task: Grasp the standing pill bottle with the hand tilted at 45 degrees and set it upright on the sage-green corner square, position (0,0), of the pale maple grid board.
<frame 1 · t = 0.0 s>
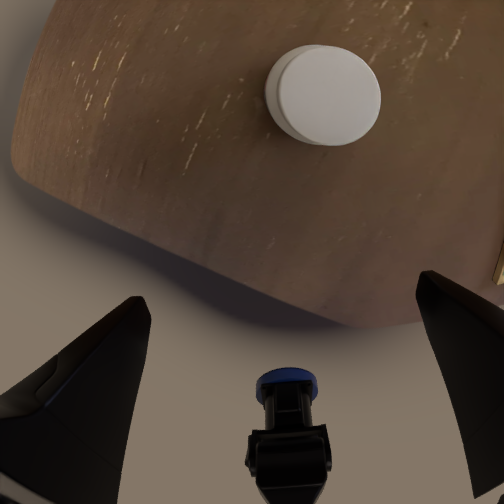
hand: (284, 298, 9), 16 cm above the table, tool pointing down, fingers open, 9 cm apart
pill bottle: (301, 93, 20), on the table
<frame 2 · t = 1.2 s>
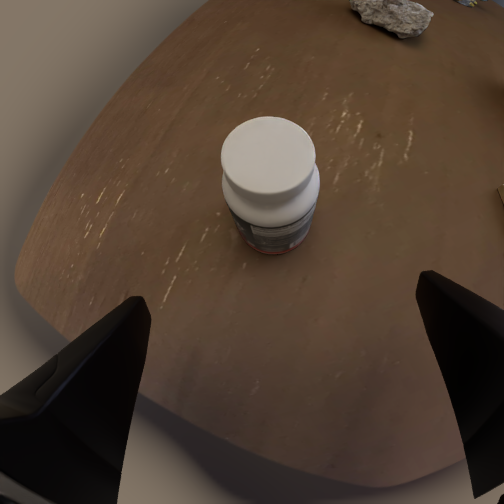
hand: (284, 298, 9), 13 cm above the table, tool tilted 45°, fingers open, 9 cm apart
mineral specimen: (387, 22, 30), on the table
pill bottle: (274, 222, 24), on the table
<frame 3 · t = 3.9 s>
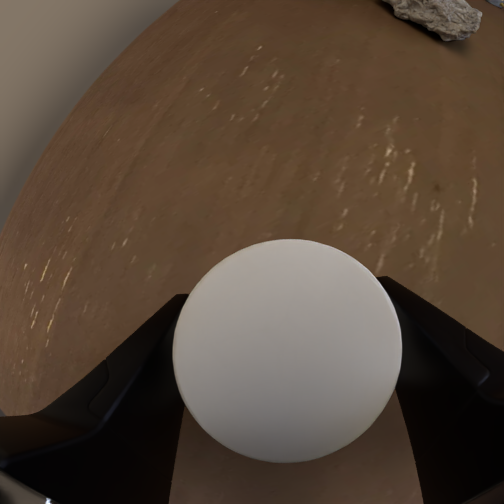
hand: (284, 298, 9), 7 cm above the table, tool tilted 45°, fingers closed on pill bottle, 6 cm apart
mineral specimen: (423, 19, 22), on the table
pill bottle: (284, 337, 15), on the table, touching gripper
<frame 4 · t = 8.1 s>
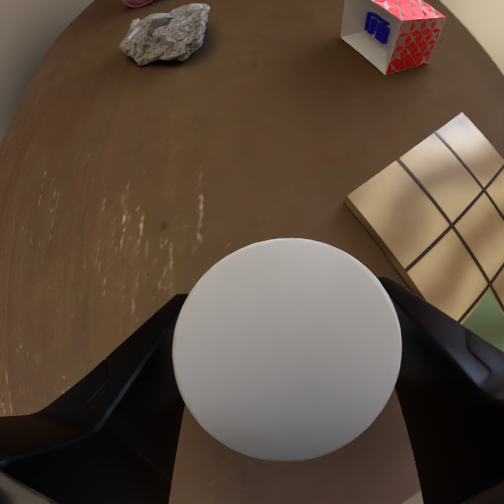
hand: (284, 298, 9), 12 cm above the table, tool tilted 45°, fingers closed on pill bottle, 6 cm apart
mineral specimen: (170, 45, 30), on the table
pill bottle: (284, 337, 15), point 5 cm above the table, touching gripper
red white patterned cube: (384, 50, 27), on the table
board: (481, 238, 20), on the table
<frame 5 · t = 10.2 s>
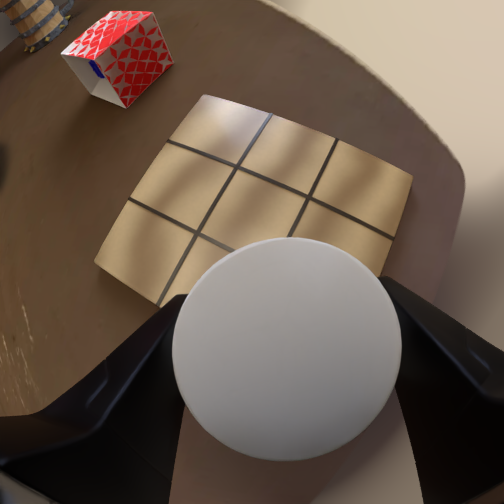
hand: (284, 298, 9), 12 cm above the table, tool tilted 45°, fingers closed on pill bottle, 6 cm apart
pill bottle: (284, 336, 15), point 5 cm above the table, touching gripper
red white patterned cube: (130, 78, 29), on the table
mug: (56, 30, 38), on the table
board: (254, 220, 23), on the table
when the fingers open (8 cm above the table, at t = 12.1 s): pill bottle stays where it is, resting on board.
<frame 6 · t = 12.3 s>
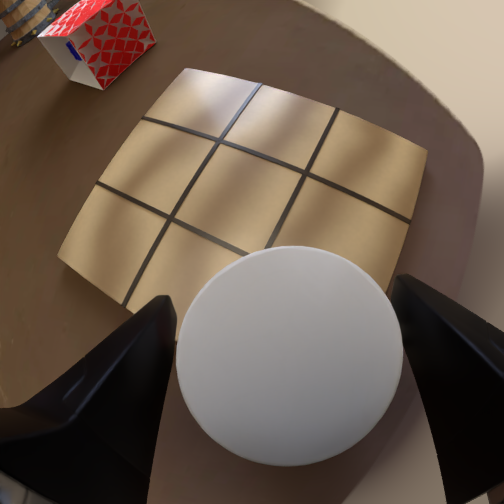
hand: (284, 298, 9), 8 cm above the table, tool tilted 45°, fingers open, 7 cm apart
pill bottle: (285, 339, 15), point 1 cm above the table, touching board
red white patterned cube: (110, 61, 25), on the table
mug: (44, 23, 35), on the table
board: (240, 203, 19), on the table
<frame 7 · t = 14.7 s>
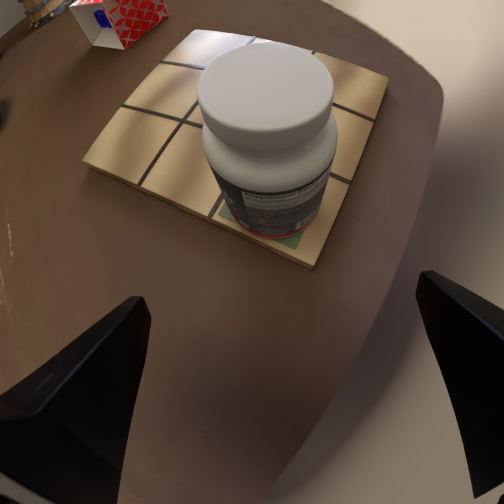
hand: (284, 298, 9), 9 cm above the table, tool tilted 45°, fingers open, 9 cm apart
pill bottle: (274, 198, 18), point 1 cm above the table, touching board
red white patterned cube: (129, 30, 28), on the table
mug: (60, 8, 37), on the table
board: (238, 113, 22), on the table
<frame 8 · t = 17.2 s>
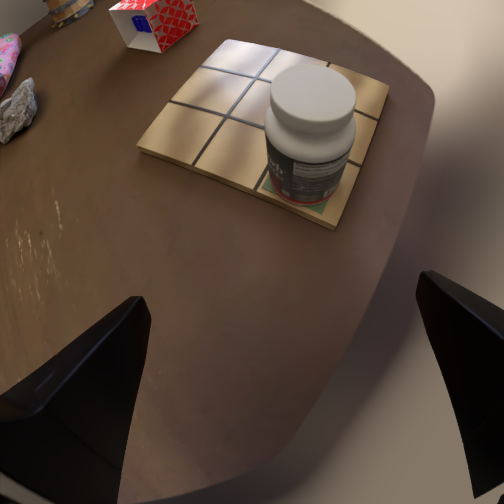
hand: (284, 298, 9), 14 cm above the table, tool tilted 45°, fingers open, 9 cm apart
pencil case: (8, 76, 40), on the table
mineral specimen: (21, 119, 33), on the table
pill bottle: (304, 177, 24), point 1 cm above the table, touching board
red white patterned cube: (162, 35, 33), on the table
mug: (83, 10, 43), on the table
board: (270, 111, 27), on the table
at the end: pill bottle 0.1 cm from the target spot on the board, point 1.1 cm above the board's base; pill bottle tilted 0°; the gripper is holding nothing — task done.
